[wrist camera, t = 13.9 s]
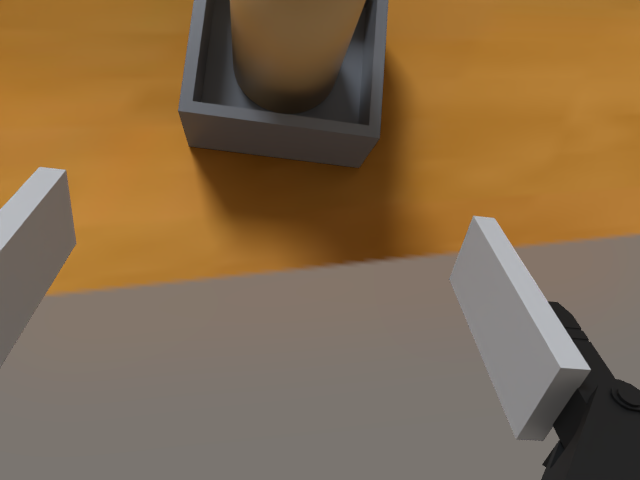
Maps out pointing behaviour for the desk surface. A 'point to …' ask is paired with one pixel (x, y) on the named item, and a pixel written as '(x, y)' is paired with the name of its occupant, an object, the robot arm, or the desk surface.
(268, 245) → the desk surface
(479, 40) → the desk surface
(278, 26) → the beige rounded figurine
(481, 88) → the desk surface
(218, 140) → the grey open square box
